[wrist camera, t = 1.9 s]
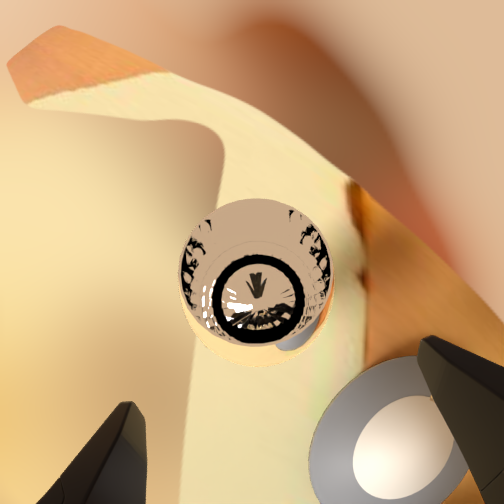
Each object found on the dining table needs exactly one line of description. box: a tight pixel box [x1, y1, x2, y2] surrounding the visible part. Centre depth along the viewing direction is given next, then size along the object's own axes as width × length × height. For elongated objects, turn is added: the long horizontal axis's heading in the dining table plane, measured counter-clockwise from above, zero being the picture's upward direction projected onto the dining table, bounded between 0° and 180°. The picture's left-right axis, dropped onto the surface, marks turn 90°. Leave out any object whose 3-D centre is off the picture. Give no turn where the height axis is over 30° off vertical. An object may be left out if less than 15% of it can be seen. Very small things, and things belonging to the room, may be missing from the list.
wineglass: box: [178, 199, 335, 367], centre depth 15 cm, size 6×6×12 cm
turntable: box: [309, 356, 469, 504], centre depth 15 cm, size 13×13×1 cm
